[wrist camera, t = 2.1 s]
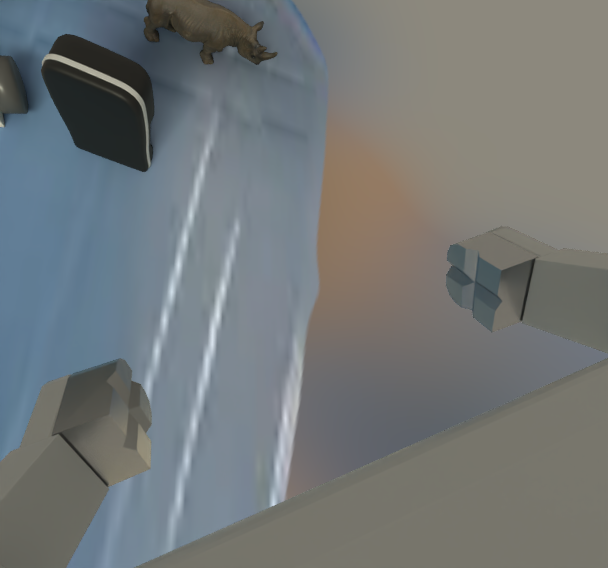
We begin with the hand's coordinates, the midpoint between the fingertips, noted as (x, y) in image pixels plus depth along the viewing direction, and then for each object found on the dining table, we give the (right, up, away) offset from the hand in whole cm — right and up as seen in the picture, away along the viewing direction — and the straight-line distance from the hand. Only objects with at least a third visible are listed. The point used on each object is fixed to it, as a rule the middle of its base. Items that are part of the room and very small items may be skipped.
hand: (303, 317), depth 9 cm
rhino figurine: (-10, +27, +32) cm, 43 cm away
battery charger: (-18, +14, +27) cm, 36 cm away
